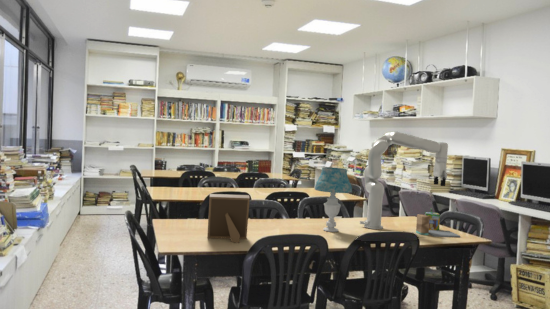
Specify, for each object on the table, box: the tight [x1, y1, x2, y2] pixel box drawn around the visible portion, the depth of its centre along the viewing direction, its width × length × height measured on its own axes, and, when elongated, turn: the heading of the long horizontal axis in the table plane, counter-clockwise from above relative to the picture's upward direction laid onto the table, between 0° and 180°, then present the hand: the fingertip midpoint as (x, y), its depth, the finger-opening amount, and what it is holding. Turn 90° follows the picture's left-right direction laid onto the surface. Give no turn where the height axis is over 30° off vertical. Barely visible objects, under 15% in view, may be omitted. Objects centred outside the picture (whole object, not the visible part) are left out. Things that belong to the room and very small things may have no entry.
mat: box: [428, 229, 461, 238], centre depth 307 cm, size 18×16×1 cm
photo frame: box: [207, 193, 251, 244], centre depth 257 cm, size 15×22×25 cm
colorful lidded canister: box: [424, 208, 441, 230], centre depth 321 cm, size 9×9×15 cm
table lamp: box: [314, 166, 353, 233], centre depth 298 cm, size 24×24×40 cm
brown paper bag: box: [415, 213, 430, 236], centre depth 305 cm, size 5×8×12 cm, turn 6°
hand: (439, 185), depth 320 cm, fingers open, 9 cm apart
